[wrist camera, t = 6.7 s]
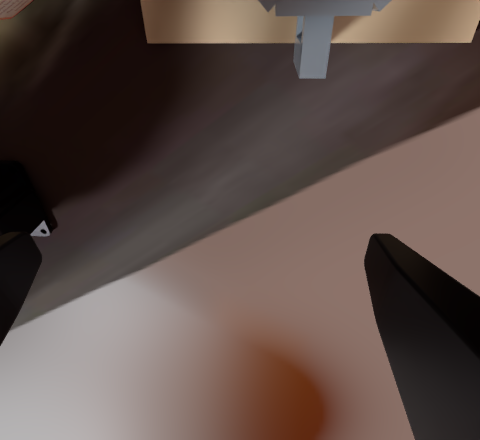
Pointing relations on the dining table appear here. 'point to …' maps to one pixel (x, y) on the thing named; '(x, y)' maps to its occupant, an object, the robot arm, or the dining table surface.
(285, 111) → the dining table surface
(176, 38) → the board
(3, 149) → the dining table surface
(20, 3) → the cracker box
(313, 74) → the grey faceted open cylinder
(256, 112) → the dining table surface
